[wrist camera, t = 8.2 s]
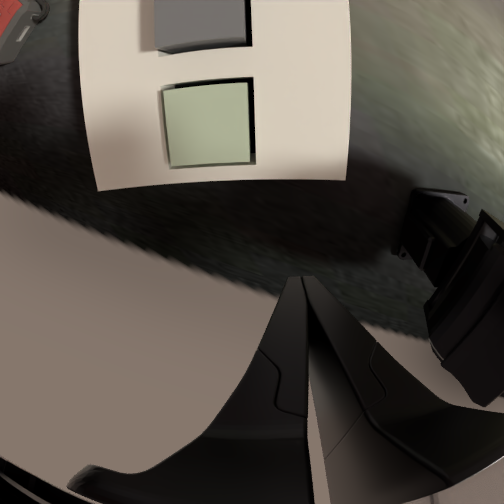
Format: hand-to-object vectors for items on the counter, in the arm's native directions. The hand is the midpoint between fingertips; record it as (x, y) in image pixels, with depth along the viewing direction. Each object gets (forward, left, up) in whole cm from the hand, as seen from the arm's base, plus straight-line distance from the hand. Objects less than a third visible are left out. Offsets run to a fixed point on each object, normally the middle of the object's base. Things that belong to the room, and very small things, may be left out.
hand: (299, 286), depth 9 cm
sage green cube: (+4, -4, -13) cm, 14 cm away
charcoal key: (+4, -11, -12) cm, 17 cm away
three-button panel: (+4, -11, -12) cm, 17 cm away
